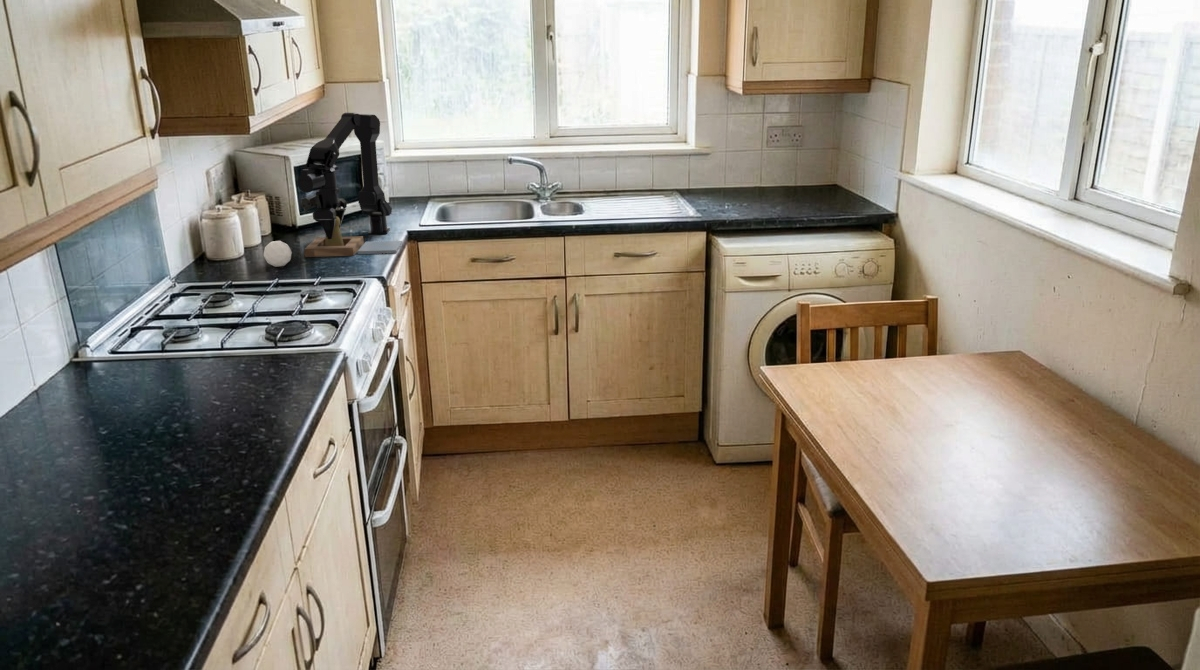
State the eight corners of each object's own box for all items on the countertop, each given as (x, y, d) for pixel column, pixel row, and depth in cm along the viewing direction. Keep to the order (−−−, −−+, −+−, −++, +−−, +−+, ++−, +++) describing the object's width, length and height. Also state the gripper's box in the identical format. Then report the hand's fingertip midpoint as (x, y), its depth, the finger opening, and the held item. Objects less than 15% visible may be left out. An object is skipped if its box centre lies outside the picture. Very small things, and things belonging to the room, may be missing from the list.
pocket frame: (317, 244, 280) (316, 237, 279) (363, 243, 280) (363, 236, 279) (305, 256, 266) (303, 249, 265) (353, 255, 266) (352, 247, 265)
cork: (333, 253, 269) (328, 219, 265) (321, 250, 272) (316, 216, 268) (348, 249, 273) (344, 215, 270) (337, 246, 277) (333, 213, 273)
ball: (288, 273, 258) (301, 253, 256) (265, 270, 251) (278, 249, 249) (276, 257, 261) (289, 237, 259) (254, 254, 255) (266, 233, 252)
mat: (366, 244, 279) (365, 241, 278) (402, 243, 279) (402, 240, 279) (357, 254, 268) (357, 251, 267) (396, 253, 268) (396, 250, 268)
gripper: (309, 181, 274) (315, 229, 280) (292, 193, 257) (299, 243, 262) (344, 181, 275) (349, 228, 280) (329, 192, 257) (336, 242, 263)
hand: (333, 235), depth 271 cm, fingers open, 9 cm apart
